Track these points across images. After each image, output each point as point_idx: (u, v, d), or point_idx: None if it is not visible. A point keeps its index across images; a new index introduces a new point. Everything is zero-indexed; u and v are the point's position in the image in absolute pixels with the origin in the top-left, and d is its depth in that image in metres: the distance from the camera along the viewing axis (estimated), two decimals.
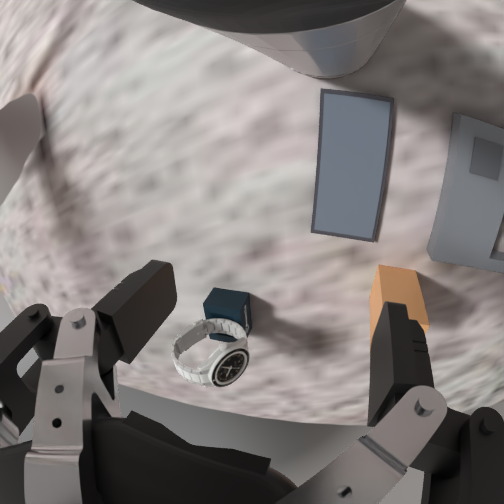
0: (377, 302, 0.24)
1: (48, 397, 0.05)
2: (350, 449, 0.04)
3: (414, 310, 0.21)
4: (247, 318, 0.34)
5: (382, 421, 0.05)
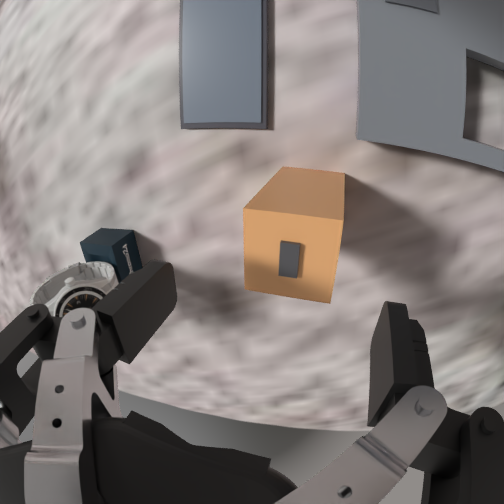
0: None
1: (48, 397, 0.04)
2: (350, 449, 0.04)
3: (318, 203, 0.13)
4: (133, 264, 0.25)
5: (382, 421, 0.05)
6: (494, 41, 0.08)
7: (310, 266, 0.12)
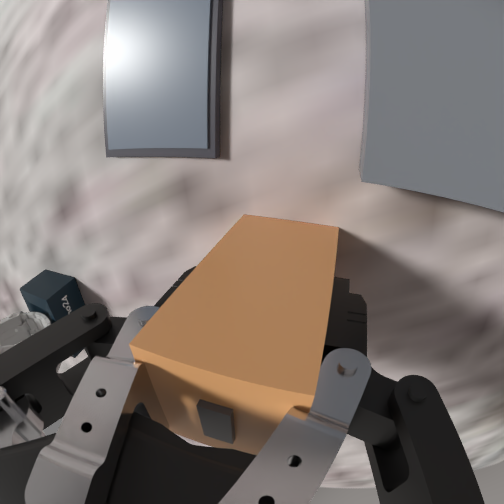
0: None
1: (86, 398, 0.05)
2: (284, 420, 0.05)
3: (275, 328, 0.07)
4: None
5: None
6: None
7: (255, 434, 0.06)
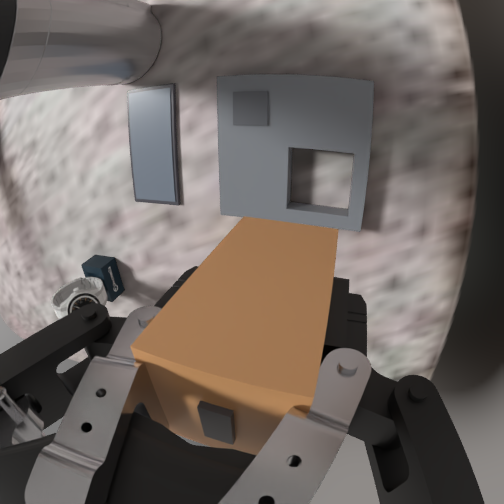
0: None
1: (86, 398, 0.05)
2: (284, 420, 0.05)
3: (275, 330, 0.07)
4: (115, 279, 0.39)
5: None
6: (314, 134, 0.22)
7: (255, 435, 0.06)
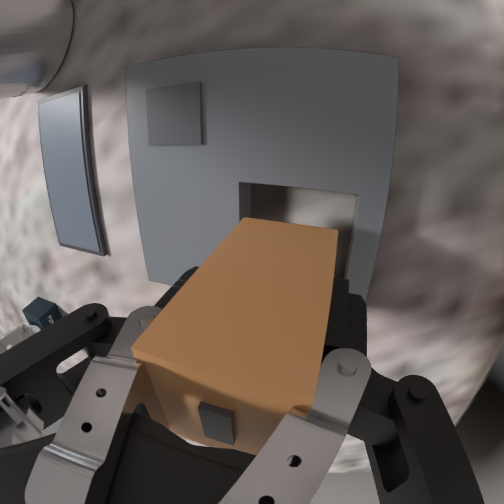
0: None
1: (86, 398, 0.05)
2: (284, 420, 0.05)
3: (275, 331, 0.07)
4: None
5: None
6: (284, 159, 0.12)
7: (255, 436, 0.06)
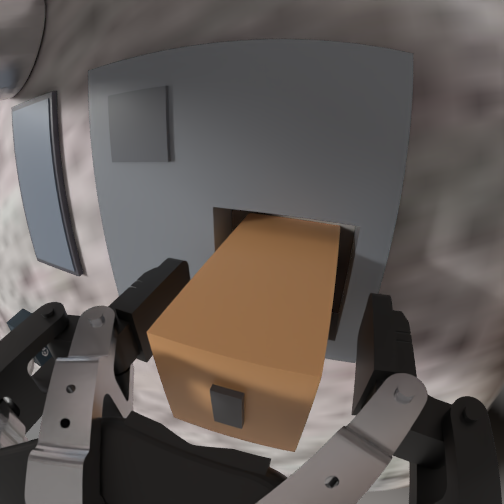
0: None
1: (59, 396, 0.05)
2: (333, 439, 0.04)
3: (283, 317, 0.07)
4: None
5: (363, 410, 0.05)
6: (267, 180, 0.10)
7: (263, 418, 0.07)
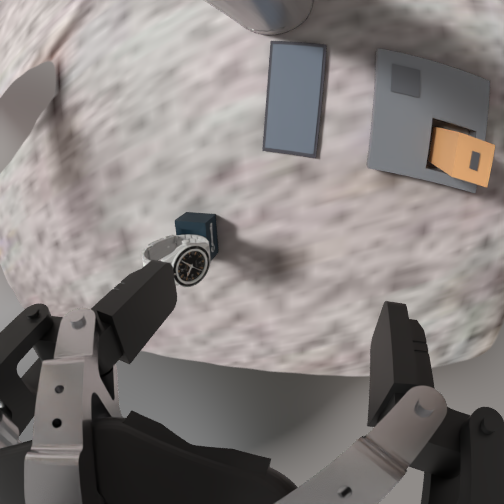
0: (443, 142, 0.22)
1: (48, 397, 0.04)
2: (350, 449, 0.04)
3: None
4: (213, 238, 0.38)
5: (382, 421, 0.05)
6: (451, 111, 0.22)
7: (481, 165, 0.19)
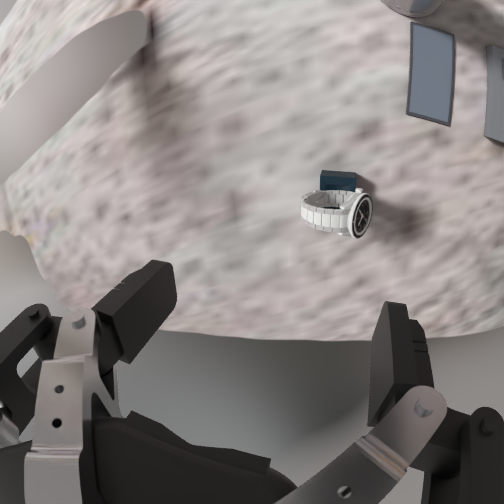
0: None
1: (48, 397, 0.04)
2: (350, 449, 0.04)
3: None
4: None
5: (382, 421, 0.05)
6: None
7: None
